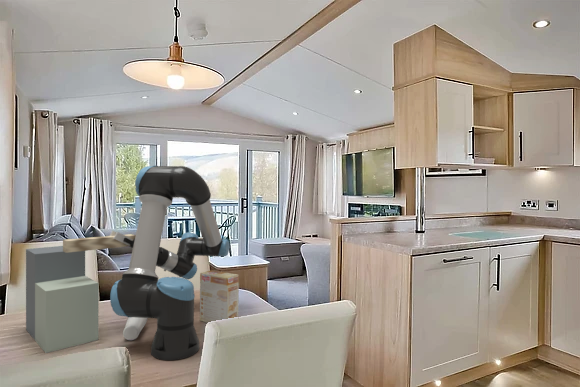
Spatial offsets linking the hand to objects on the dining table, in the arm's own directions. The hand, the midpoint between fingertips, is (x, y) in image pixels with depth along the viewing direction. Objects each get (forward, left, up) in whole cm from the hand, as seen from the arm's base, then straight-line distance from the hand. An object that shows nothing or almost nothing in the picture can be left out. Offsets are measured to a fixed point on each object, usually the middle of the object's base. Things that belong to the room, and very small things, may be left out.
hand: (113, 234), depth 146 cm
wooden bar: (-2, +4, -5) cm, 6 cm away
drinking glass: (-15, -7, -33) cm, 37 cm away
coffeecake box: (-5, -39, -36) cm, 53 cm away
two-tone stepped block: (-1, +17, -35) cm, 39 cm away
